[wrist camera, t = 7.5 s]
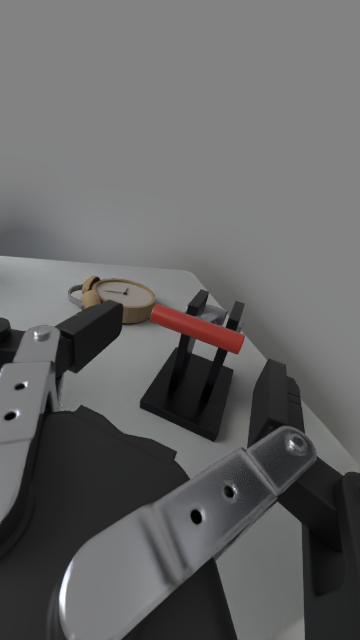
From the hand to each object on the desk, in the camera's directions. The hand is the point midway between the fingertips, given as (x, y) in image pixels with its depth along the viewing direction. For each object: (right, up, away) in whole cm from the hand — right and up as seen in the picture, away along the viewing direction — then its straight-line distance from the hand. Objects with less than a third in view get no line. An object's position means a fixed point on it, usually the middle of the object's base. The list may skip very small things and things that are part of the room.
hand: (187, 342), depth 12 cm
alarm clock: (-13, +3, +31) cm, 34 cm away
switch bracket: (+1, -8, +18) cm, 20 cm away
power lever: (+2, 0, +7) cm, 8 cm away
